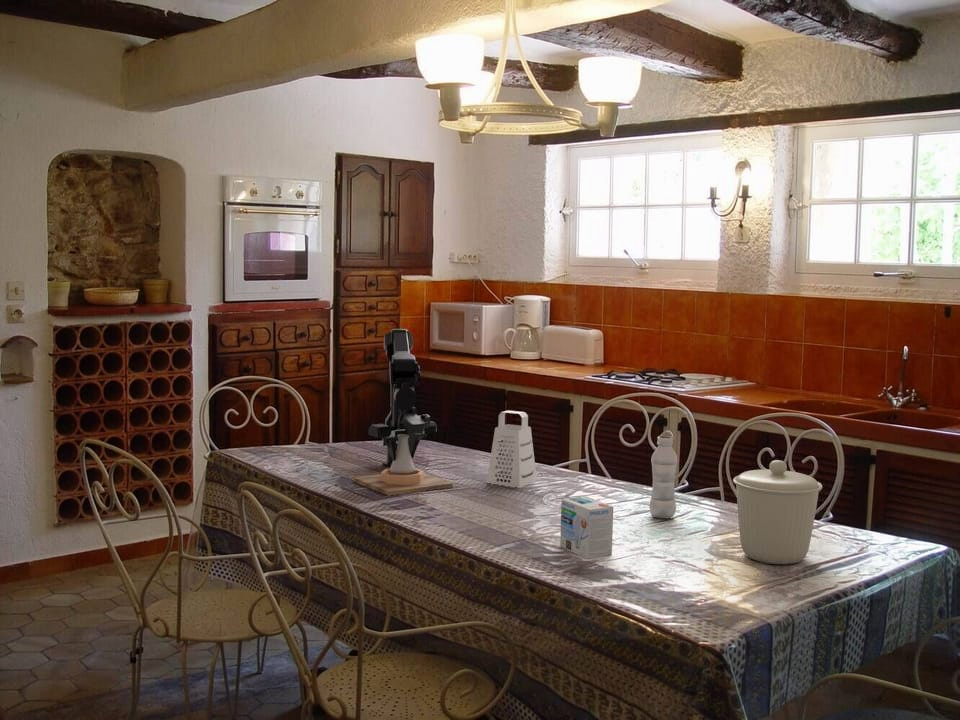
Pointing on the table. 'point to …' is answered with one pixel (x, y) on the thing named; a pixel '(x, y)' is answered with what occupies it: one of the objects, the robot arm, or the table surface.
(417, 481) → the ring
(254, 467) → the table surface
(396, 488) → the board
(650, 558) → the table surface
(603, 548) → the light bulb box
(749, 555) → the canister
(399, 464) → the flask
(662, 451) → the plastic bottle
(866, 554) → the table surface
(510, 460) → the grater
